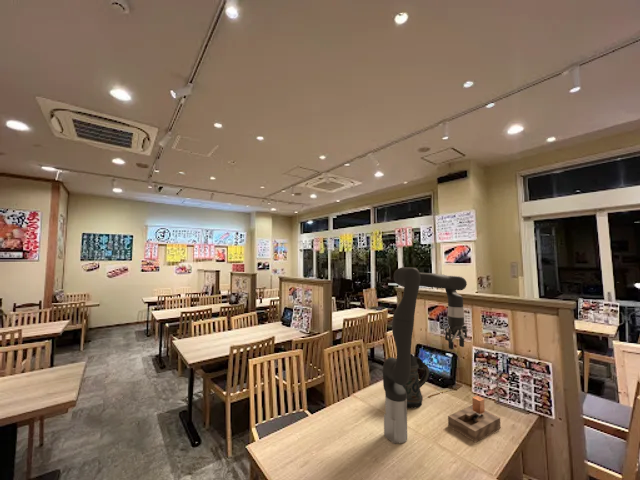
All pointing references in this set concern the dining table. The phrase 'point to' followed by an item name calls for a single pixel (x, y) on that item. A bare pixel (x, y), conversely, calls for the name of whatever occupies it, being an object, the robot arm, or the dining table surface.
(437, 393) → the axe
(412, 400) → the beer stein
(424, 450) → the dining table surface
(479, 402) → the t peg
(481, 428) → the keyhole plate
